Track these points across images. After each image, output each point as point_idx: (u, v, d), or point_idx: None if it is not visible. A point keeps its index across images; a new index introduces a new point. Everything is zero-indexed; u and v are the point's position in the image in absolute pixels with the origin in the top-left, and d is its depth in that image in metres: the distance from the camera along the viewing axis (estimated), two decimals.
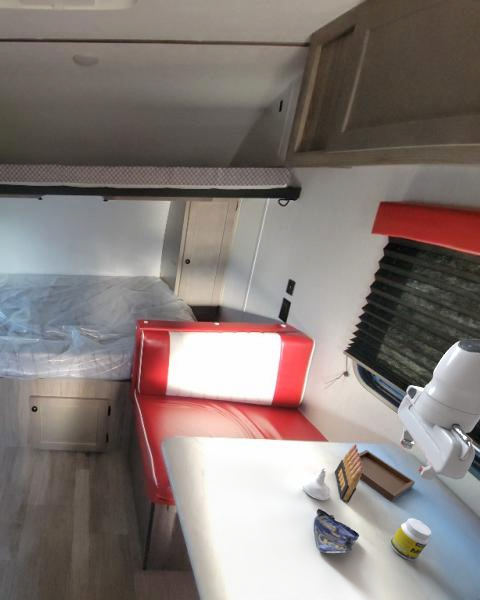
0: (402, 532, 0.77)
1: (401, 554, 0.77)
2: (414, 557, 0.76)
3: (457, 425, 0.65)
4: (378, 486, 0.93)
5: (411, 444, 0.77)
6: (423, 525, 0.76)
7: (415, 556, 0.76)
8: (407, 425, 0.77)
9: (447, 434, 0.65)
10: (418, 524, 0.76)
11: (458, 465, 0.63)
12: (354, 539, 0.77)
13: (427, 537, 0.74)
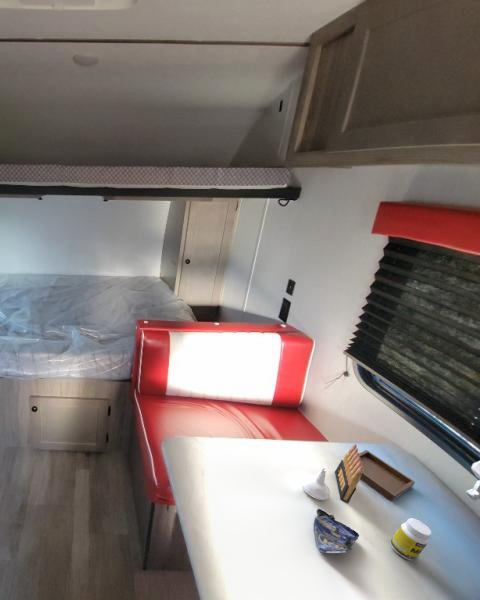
0: (402, 532, 0.77)
1: (401, 554, 0.77)
2: (414, 557, 0.76)
3: None
4: (378, 486, 0.93)
5: None
6: (423, 525, 0.76)
7: (415, 556, 0.76)
8: None
9: None
10: (418, 524, 0.76)
11: None
12: (354, 539, 0.77)
13: (427, 537, 0.74)
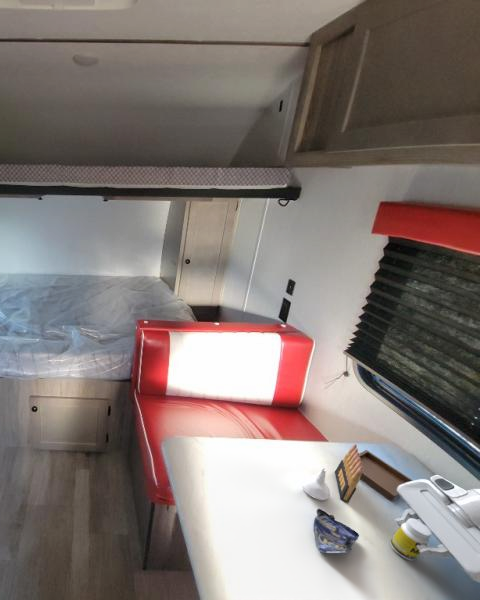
0: (402, 532, 0.77)
1: (401, 554, 0.77)
2: (414, 557, 0.76)
3: None
4: (378, 486, 0.93)
5: None
6: (423, 525, 0.76)
7: (415, 556, 0.76)
8: (416, 506, 0.79)
9: None
10: (418, 524, 0.76)
11: None
12: (354, 539, 0.77)
13: (427, 537, 0.74)
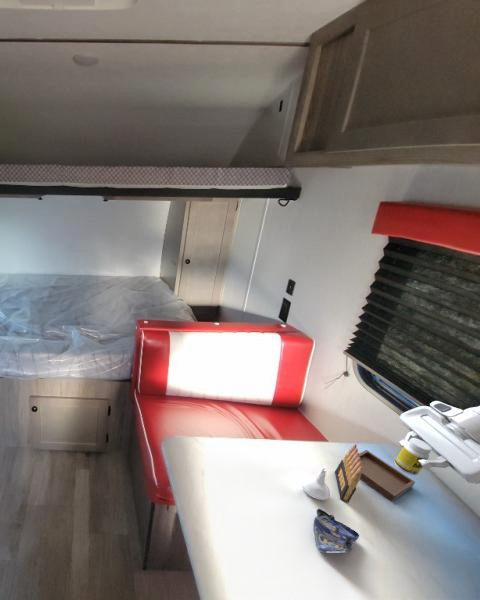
0: (405, 450, 0.85)
1: (404, 470, 0.85)
2: (416, 472, 0.84)
3: None
4: (378, 486, 0.93)
5: None
6: (423, 443, 0.84)
7: (417, 471, 0.84)
8: (418, 428, 0.87)
9: None
10: (419, 442, 0.84)
11: None
12: (354, 539, 0.77)
13: (428, 452, 0.82)
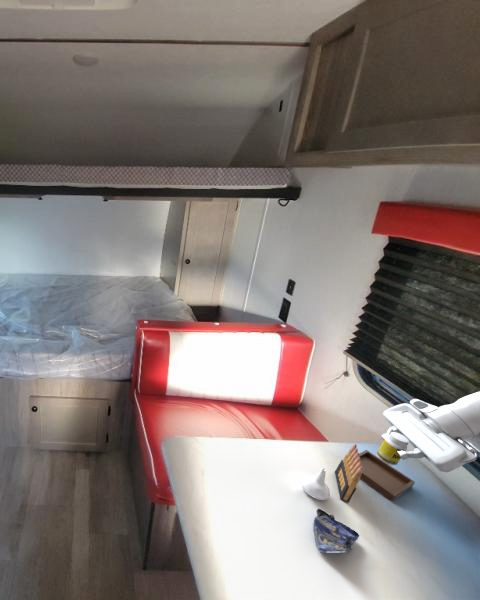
0: (386, 442, 0.94)
1: (385, 461, 0.95)
2: (395, 462, 0.94)
3: (461, 439, 0.86)
4: (378, 486, 0.93)
5: None
6: (402, 436, 0.94)
7: (396, 461, 0.94)
8: (398, 423, 0.96)
9: (456, 442, 0.85)
10: (399, 435, 0.94)
11: (455, 464, 0.83)
12: (354, 539, 0.77)
13: (405, 444, 0.92)
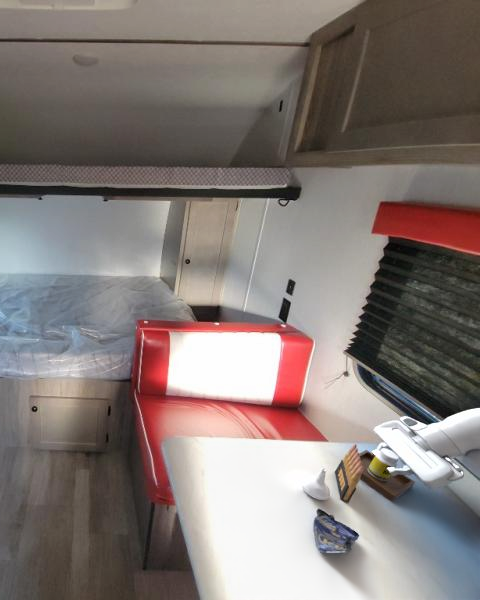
0: (376, 458, 0.97)
1: (376, 476, 0.97)
2: (386, 478, 0.96)
3: (449, 457, 0.88)
4: (378, 486, 0.93)
5: None
6: (392, 452, 0.96)
7: (386, 477, 0.96)
8: (388, 440, 0.99)
9: (444, 460, 0.87)
10: (389, 452, 0.96)
11: (443, 482, 0.85)
12: (354, 539, 0.77)
13: (395, 460, 0.94)
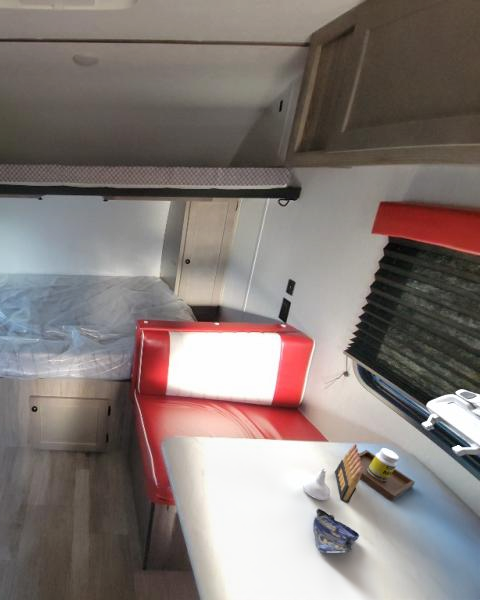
0: (376, 458, 0.97)
1: (376, 476, 0.97)
2: (386, 478, 0.96)
3: None
4: (378, 486, 0.93)
5: (432, 428, 0.95)
6: (392, 452, 0.96)
7: (386, 477, 0.96)
8: (445, 414, 0.94)
9: None
10: (389, 452, 0.96)
11: None
12: (354, 539, 0.77)
13: (395, 460, 0.94)
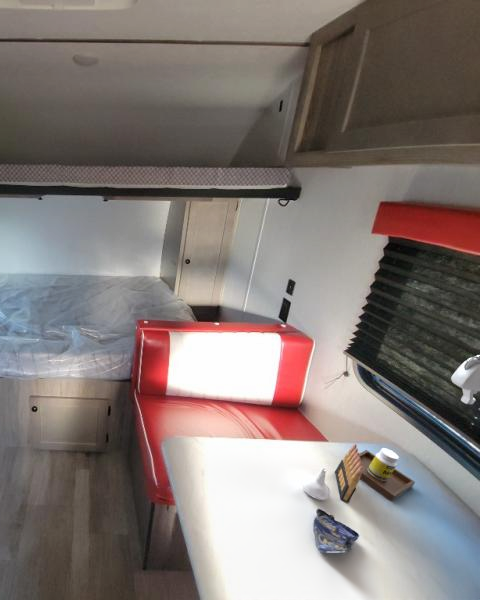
0: (376, 458, 0.97)
1: (376, 476, 0.97)
2: (386, 478, 0.96)
3: None
4: (378, 486, 0.93)
5: None
6: (392, 452, 0.96)
7: (386, 477, 0.96)
8: None
9: None
10: (389, 452, 0.96)
11: (462, 373, 0.85)
12: (354, 539, 0.77)
13: (395, 460, 0.94)
